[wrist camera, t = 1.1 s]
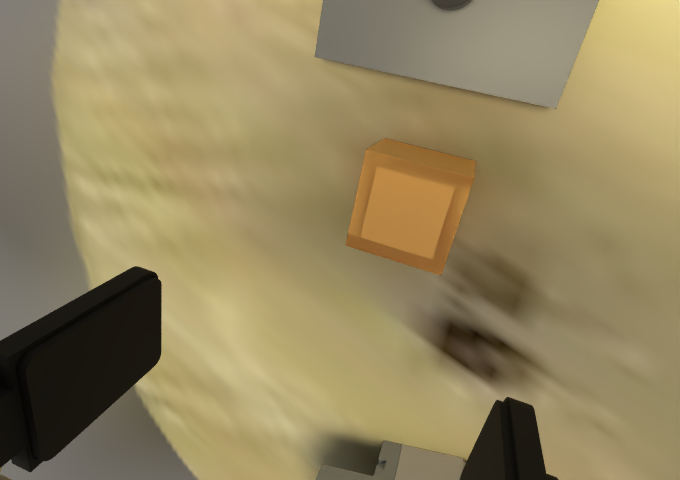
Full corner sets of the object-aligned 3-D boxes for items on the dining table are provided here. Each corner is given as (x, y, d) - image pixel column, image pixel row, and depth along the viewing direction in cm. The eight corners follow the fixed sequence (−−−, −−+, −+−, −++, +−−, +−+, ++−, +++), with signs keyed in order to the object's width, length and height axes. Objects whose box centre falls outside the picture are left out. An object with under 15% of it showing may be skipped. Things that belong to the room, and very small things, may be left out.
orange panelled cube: (475, 161, 26) (474, 177, 21) (447, 245, 28) (441, 275, 24) (385, 138, 27) (366, 149, 23) (365, 220, 29) (345, 245, 25)
